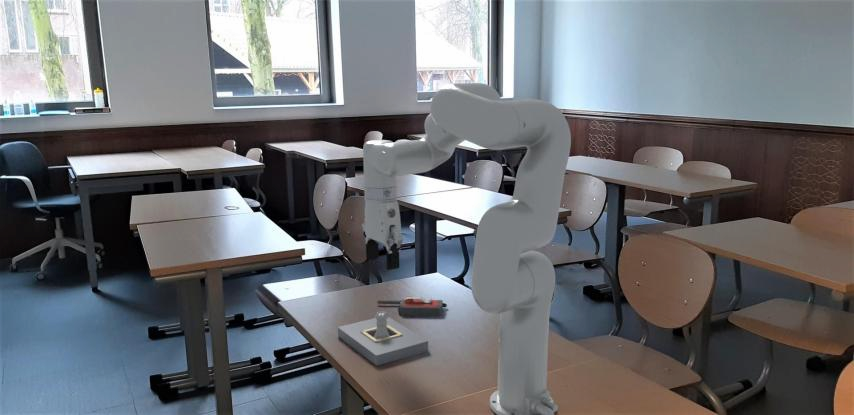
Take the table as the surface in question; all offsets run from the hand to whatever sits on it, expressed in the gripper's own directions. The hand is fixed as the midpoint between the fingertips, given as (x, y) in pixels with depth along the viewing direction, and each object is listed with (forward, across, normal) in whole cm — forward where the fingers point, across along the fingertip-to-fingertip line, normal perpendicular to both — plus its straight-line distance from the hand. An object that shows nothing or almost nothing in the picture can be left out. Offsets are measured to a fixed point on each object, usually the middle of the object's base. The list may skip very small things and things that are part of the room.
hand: (382, 263), depth 152 cm
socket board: (+20, 0, 0) cm, 20 cm away
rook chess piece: (+21, 0, 0) cm, 21 cm away
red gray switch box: (+21, +15, -17) cm, 31 cm away
